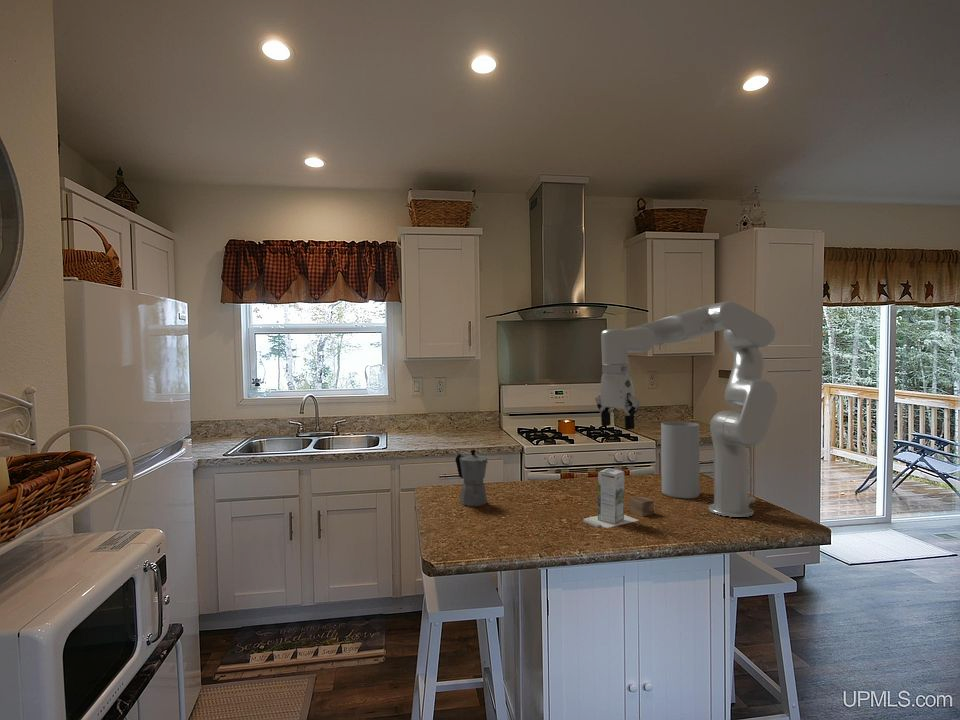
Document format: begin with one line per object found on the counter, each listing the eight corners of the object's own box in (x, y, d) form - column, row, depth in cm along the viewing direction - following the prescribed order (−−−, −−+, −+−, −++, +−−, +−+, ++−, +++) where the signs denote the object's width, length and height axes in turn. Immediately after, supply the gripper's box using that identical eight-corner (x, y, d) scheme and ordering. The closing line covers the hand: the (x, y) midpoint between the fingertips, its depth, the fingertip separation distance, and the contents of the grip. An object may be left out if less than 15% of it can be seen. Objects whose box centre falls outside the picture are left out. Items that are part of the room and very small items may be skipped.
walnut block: (641, 512, 158) (641, 496, 158) (654, 516, 153) (653, 500, 153) (629, 514, 155) (629, 498, 155) (642, 519, 151) (642, 502, 151)
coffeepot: (497, 503, 168) (496, 450, 168) (476, 509, 162) (476, 454, 162) (466, 495, 179) (466, 444, 179) (446, 500, 173) (445, 448, 173)
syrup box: (606, 515, 152) (606, 467, 152) (625, 519, 148) (624, 470, 148) (597, 520, 147) (597, 471, 147) (616, 524, 143) (615, 473, 143)
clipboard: (615, 512, 157) (615, 508, 157) (645, 523, 146) (645, 519, 146) (575, 521, 149) (575, 516, 149) (604, 533, 139) (604, 528, 139)
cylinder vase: (655, 494, 178) (654, 424, 178) (672, 488, 186) (671, 420, 186) (689, 501, 169) (688, 427, 169) (706, 494, 177) (705, 423, 177)
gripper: (646, 369, 144) (649, 429, 144) (604, 369, 159) (606, 423, 160) (627, 371, 141) (630, 431, 141) (586, 370, 156) (588, 425, 156)
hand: (617, 427), depth 150 cm, fingers open, 9 cm apart
